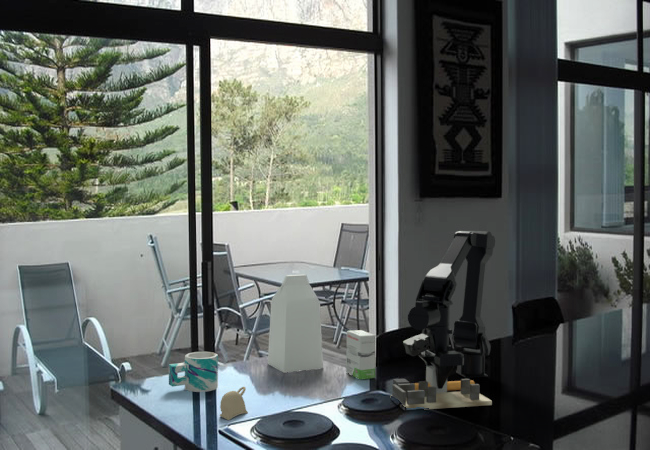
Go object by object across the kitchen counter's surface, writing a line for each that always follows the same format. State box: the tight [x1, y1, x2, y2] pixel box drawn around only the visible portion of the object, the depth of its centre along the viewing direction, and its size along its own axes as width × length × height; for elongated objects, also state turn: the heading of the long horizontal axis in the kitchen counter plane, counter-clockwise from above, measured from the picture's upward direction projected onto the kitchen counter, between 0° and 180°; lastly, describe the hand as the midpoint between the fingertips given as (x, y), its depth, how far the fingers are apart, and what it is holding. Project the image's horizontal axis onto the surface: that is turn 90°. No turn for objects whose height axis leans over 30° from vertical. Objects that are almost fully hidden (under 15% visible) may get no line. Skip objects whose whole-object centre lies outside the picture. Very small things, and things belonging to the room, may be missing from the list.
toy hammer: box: [392, 366, 476, 393], centre depth 184 cm, size 21×4×6 cm, turn 105°
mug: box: [168, 351, 219, 393], centre depth 184 cm, size 8×12×8 cm
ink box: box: [345, 329, 376, 380], centre depth 199 cm, size 9×5×12 cm, turn 25°
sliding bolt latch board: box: [391, 378, 493, 410], centre depth 174 cm, size 22×9×4 cm, turn 105°
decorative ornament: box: [219, 386, 249, 421], centre depth 163 cm, size 4×8×5 cm, turn 144°
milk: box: [267, 274, 324, 374], centre depth 208 cm, size 12×12×26 cm
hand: (436, 386), depth 184 cm, fingers closed on toy hammer, 4 cm apart
